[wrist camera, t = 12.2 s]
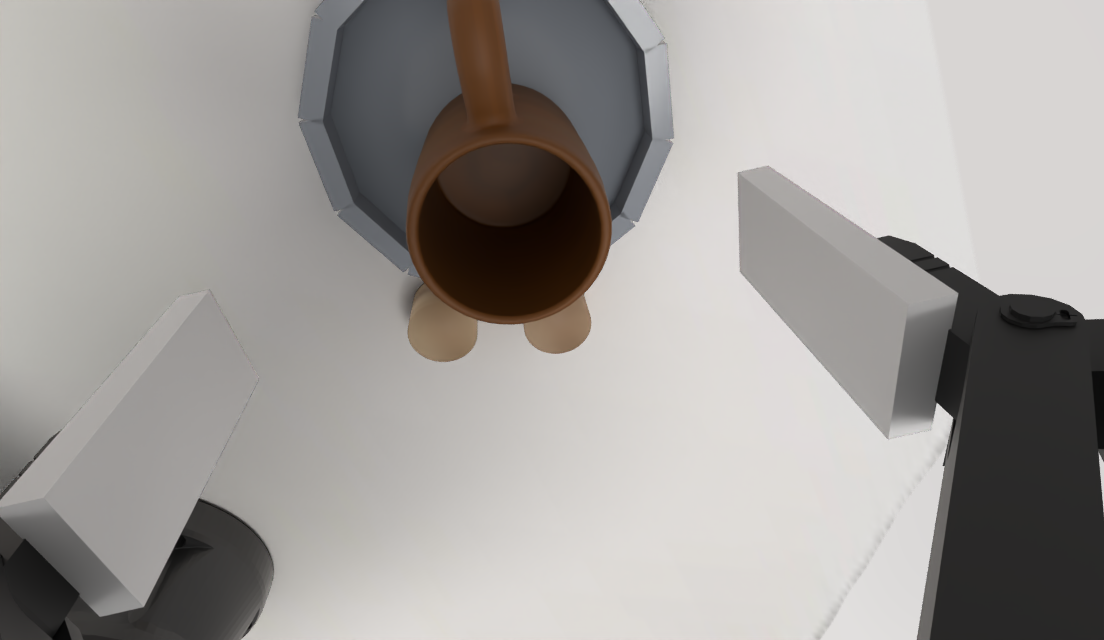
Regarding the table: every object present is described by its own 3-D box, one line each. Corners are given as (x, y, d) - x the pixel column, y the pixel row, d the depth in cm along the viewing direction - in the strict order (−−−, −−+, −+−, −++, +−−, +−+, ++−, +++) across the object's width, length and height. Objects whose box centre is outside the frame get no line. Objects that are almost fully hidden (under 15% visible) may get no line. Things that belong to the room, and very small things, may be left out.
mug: (380, -20, 25) (331, -9, 17) (561, -46, 25) (599, -47, 17) (442, 243, 31) (428, 343, 23) (586, 221, 31) (623, 313, 23)
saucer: (384, 296, 33) (377, 318, 31) (254, -39, 25) (234, -38, 23) (670, 235, 33) (682, 253, 31) (639, -123, 24) (653, -130, 22)
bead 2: (527, 330, 35) (531, 359, 33) (515, 277, 34) (517, 303, 31) (587, 318, 35) (595, 346, 33) (578, 264, 34) (586, 289, 31)
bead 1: (423, 337, 35) (418, 367, 32) (404, 284, 33) (398, 311, 31) (483, 325, 35) (484, 354, 32) (468, 271, 33) (467, 297, 30)
